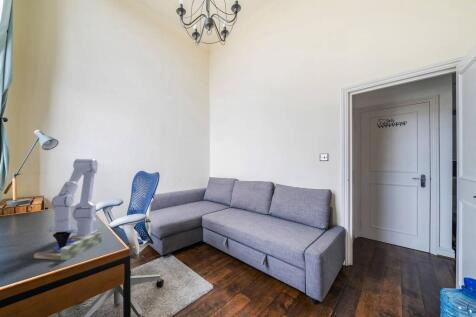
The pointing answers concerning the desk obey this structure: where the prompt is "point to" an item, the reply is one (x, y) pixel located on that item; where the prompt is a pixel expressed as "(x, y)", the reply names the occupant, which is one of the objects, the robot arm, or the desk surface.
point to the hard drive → (62, 247)
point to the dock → (73, 247)
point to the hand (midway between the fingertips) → (62, 246)
